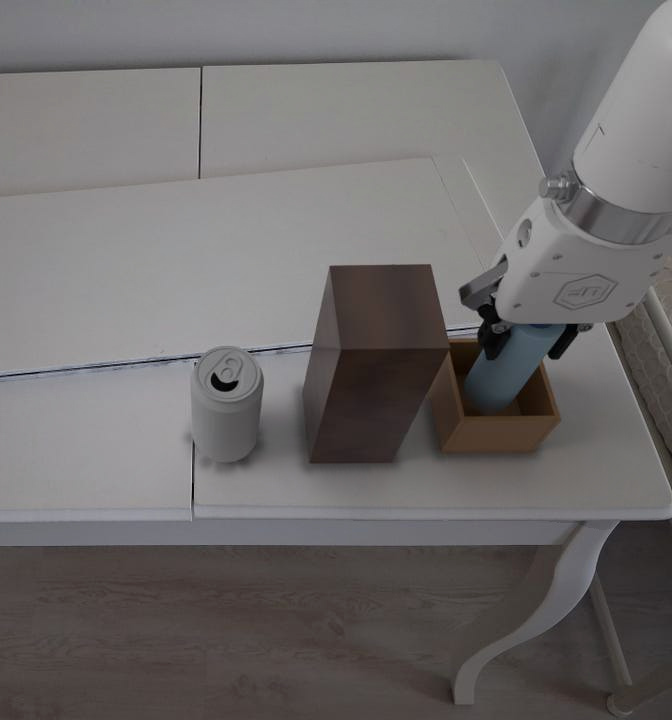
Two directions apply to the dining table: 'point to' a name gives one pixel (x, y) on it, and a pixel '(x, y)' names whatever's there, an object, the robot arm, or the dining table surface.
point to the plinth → (371, 361)
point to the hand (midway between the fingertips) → (518, 344)
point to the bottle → (510, 365)
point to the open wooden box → (489, 427)
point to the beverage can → (226, 403)
